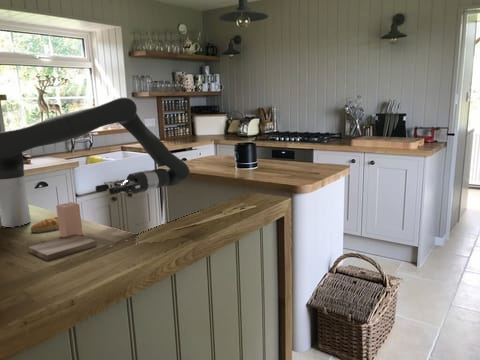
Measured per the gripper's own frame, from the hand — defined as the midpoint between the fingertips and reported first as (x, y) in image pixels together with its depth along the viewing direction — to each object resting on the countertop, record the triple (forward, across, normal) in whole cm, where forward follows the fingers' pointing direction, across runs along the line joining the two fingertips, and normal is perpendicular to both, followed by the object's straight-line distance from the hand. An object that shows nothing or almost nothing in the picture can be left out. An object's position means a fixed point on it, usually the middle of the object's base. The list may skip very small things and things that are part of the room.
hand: (102, 190), depth 136 cm
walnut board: (+21, +11, +12) cm, 26 cm away
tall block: (+13, 0, +12) cm, 18 cm away
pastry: (+14, -15, +12) cm, 23 cm away
